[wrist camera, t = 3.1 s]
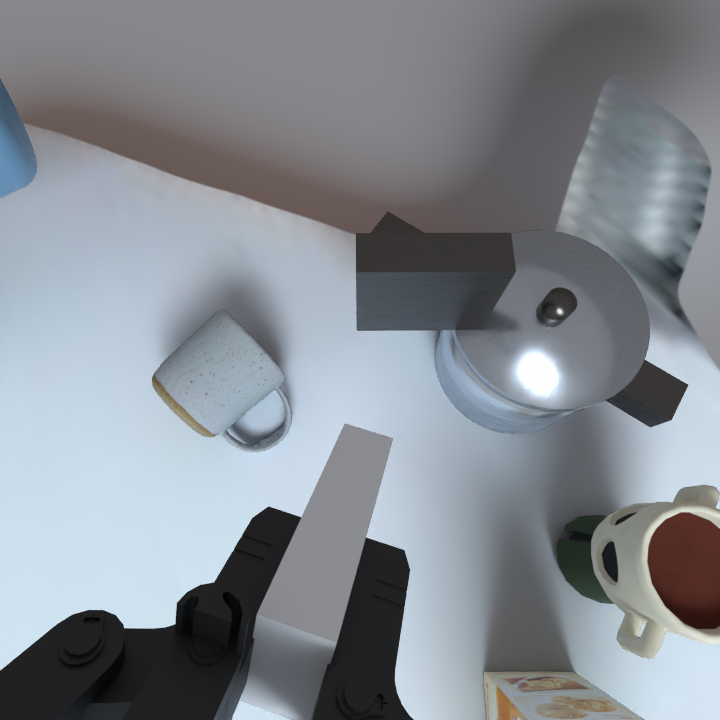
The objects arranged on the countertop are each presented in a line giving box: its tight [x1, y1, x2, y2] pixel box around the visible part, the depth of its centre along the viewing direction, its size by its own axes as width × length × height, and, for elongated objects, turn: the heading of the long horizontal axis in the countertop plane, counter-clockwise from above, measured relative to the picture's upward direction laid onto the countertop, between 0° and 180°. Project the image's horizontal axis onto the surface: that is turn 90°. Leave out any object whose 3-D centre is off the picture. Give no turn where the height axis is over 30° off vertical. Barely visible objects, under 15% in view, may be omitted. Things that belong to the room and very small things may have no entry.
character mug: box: [557, 485, 720, 659], centre depth 32 cm, size 11×7×13 cm, turn 147°
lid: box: [356, 230, 650, 413], centre depth 30 cm, size 20×14×9 cm
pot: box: [371, 212, 688, 434], centre depth 39 cm, size 25×13×9 cm, turn 58°
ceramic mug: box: [152, 310, 292, 452], centre depth 39 cm, size 11×8×8 cm
